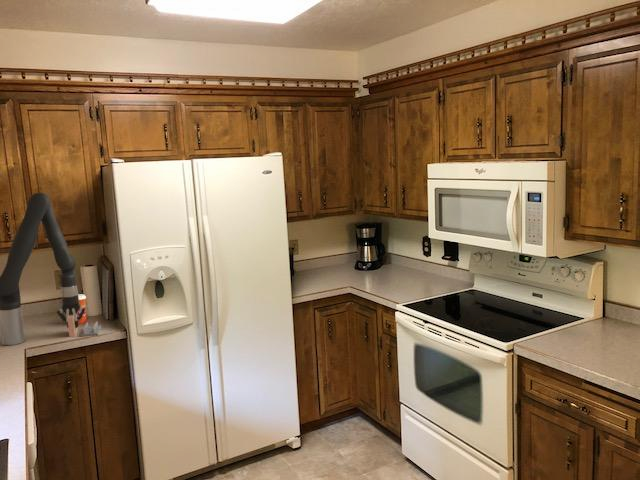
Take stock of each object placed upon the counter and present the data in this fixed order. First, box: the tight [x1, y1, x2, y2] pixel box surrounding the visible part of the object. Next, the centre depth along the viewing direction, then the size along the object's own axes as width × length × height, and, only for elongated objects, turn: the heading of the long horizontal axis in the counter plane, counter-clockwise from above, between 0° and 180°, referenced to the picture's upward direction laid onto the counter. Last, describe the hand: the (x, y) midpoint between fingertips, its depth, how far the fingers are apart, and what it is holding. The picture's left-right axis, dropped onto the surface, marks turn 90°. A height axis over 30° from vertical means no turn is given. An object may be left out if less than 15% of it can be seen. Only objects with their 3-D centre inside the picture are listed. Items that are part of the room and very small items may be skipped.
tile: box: [67, 314, 79, 338], centre depth 267 cm, size 9×2×10 cm, turn 15°
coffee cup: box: [77, 293, 87, 325], centre depth 285 cm, size 8×8×15 cm
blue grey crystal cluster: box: [79, 321, 102, 338], centre depth 269 cm, size 8×13×4 cm, turn 15°
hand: (73, 327), depth 267 cm, fingers closed on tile, 2 cm apart
